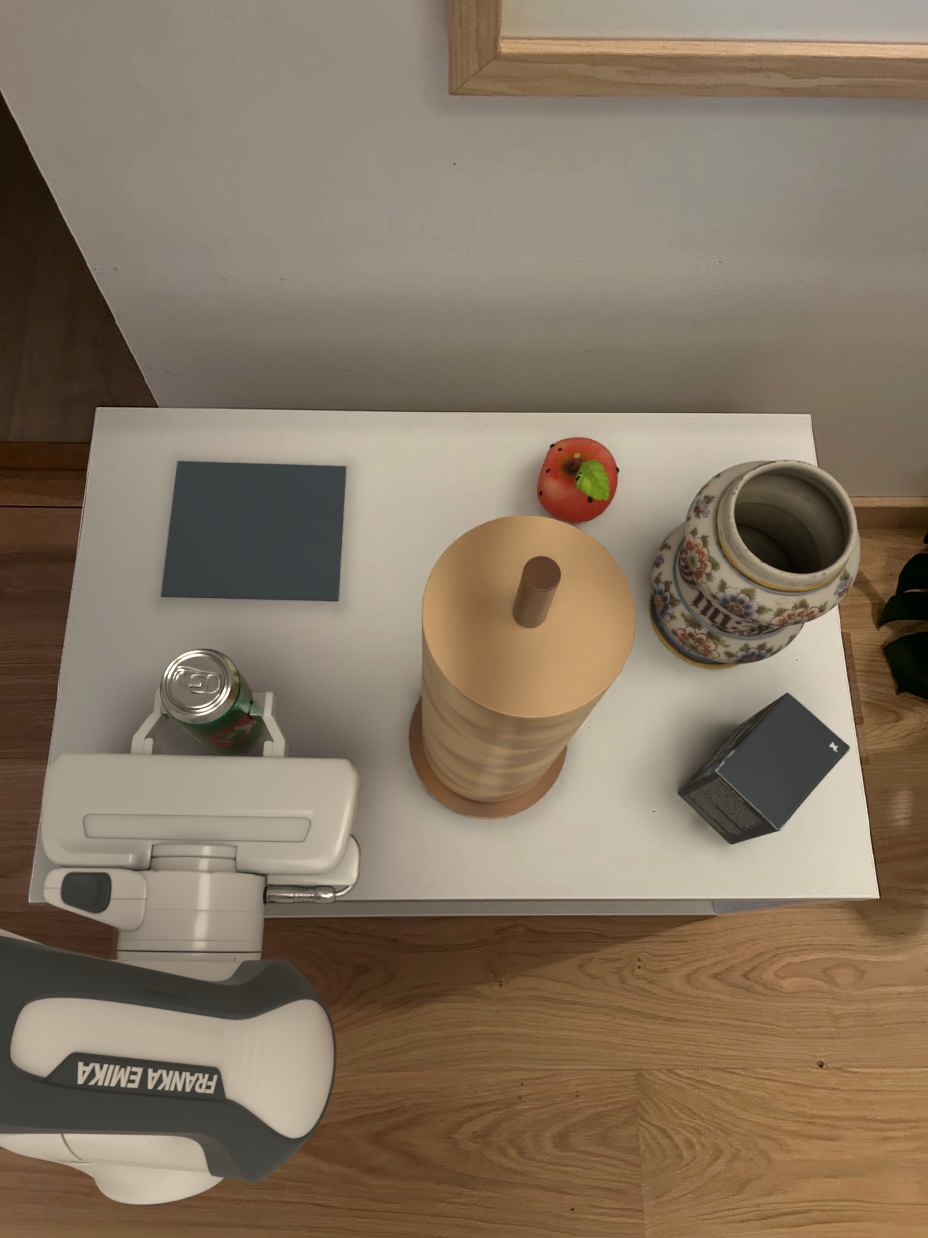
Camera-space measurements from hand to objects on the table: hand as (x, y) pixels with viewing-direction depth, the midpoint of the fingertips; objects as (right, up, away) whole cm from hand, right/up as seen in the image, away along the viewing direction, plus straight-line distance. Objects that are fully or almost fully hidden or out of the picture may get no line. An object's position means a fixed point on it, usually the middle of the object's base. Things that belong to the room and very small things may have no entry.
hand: (216, 691), depth 65 cm
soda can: (0, -3, +6) cm, 6 cm away
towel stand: (+19, -4, +8) cm, 21 cm away
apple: (+26, +14, +14) cm, 33 cm away
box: (+38, -8, +8) cm, 39 cm away
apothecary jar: (+37, +6, +12) cm, 39 cm away
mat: (0, +12, +12) cm, 17 cm away
